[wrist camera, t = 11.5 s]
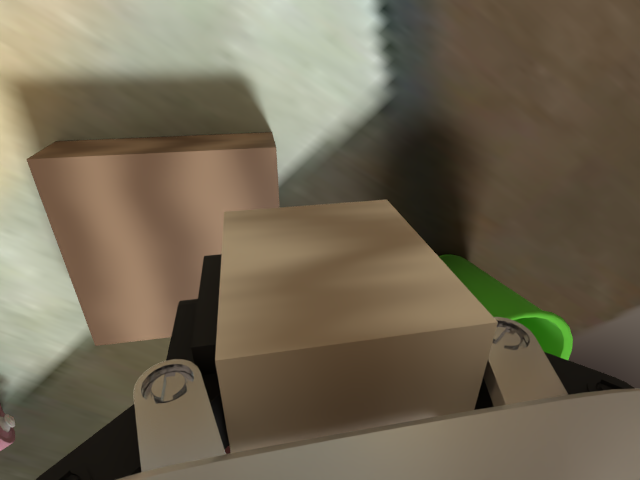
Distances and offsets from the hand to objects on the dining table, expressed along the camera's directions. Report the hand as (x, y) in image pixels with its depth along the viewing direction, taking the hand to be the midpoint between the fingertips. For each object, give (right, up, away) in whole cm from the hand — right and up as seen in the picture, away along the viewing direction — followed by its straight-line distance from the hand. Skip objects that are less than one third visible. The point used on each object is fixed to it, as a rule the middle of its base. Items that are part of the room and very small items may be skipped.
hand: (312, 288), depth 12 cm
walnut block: (-10, +2, +17) cm, 20 cm away
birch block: (0, 0, +1) cm, 1 cm away
